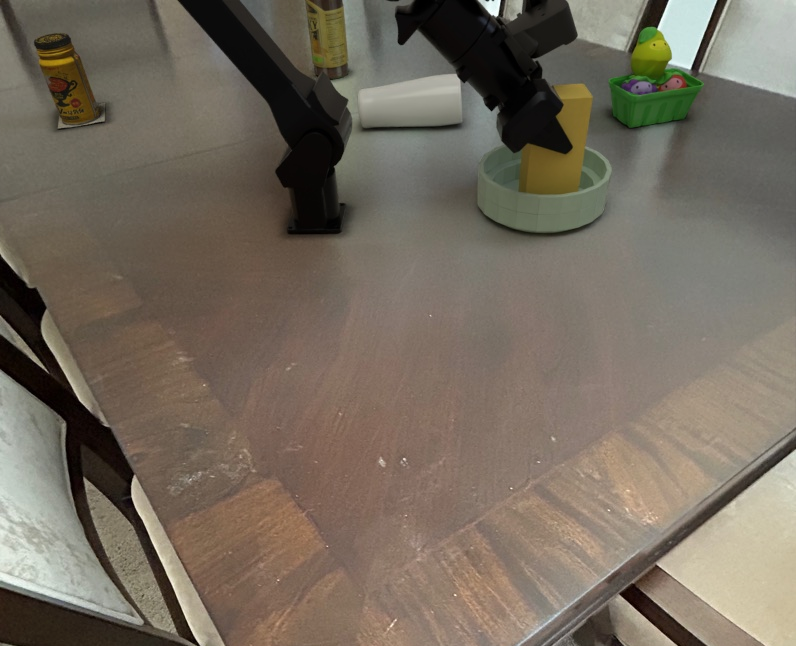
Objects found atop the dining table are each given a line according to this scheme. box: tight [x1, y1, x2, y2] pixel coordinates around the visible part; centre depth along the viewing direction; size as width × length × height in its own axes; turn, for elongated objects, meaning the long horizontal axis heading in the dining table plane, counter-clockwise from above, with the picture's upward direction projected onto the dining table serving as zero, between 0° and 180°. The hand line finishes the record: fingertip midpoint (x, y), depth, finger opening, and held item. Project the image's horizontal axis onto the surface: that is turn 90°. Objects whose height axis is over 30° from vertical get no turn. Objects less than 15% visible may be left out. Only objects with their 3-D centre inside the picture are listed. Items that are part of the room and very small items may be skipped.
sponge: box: [518, 83, 594, 195], centre depth 74 cm, size 6×4×12 cm, turn 93°
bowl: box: [476, 143, 613, 234], centre depth 80 cm, size 15×15×5 cm
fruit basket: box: [608, 26, 705, 129], centre depth 95 cm, size 11×9×11 cm
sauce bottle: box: [304, 0, 349, 80], centre depth 112 cm, size 6×6×20 cm
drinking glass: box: [357, 73, 463, 129], centre depth 99 cm, size 7×7×15 cm
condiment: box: [33, 32, 106, 129], centre depth 105 cm, size 7×8×12 cm
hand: (565, 142), depth 74 cm, fingers closed on sponge, 4 cm apart
